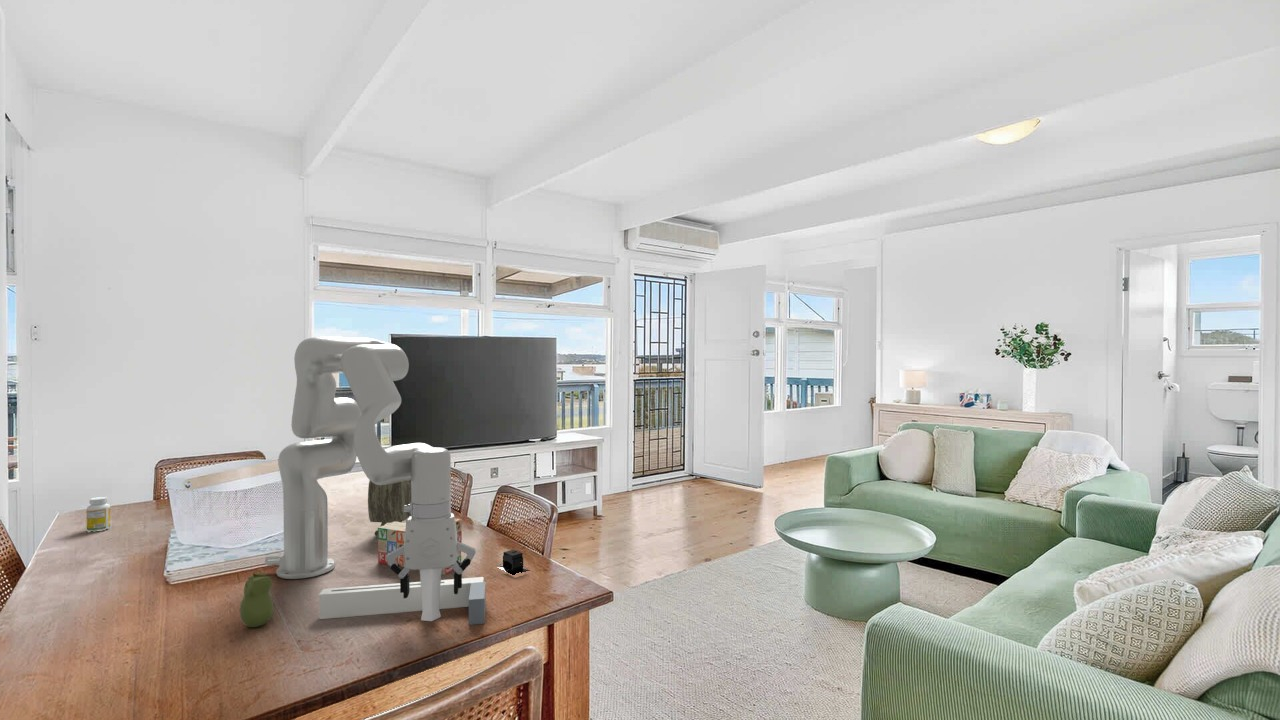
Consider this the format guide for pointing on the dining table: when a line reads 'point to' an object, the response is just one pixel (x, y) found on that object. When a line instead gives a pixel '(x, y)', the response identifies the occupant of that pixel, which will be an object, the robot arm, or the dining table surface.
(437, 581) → the white faceted vase
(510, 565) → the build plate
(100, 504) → the supplement bottle
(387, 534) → the stack of blocks
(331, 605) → the guide fence
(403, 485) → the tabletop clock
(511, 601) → the dining table surface
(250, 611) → the pear
